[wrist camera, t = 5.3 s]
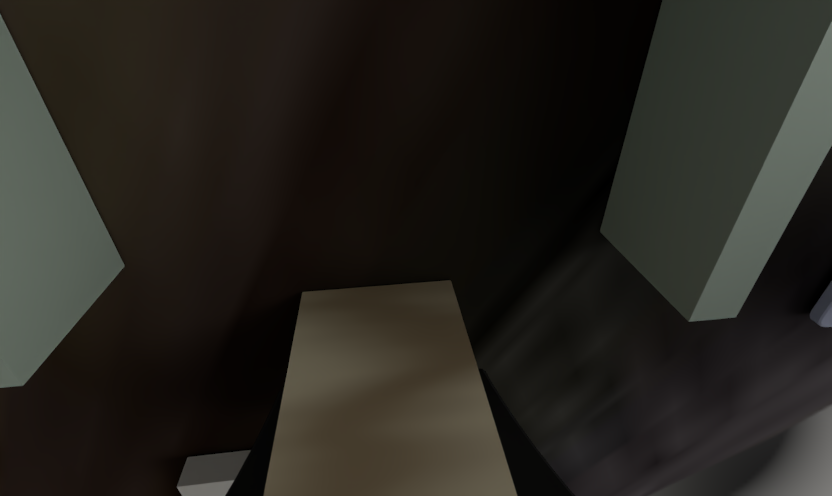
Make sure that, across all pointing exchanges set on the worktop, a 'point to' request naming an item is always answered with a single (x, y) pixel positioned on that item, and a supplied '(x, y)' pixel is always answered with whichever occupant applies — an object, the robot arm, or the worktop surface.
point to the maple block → (385, 400)
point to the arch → (628, 201)
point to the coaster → (210, 473)
